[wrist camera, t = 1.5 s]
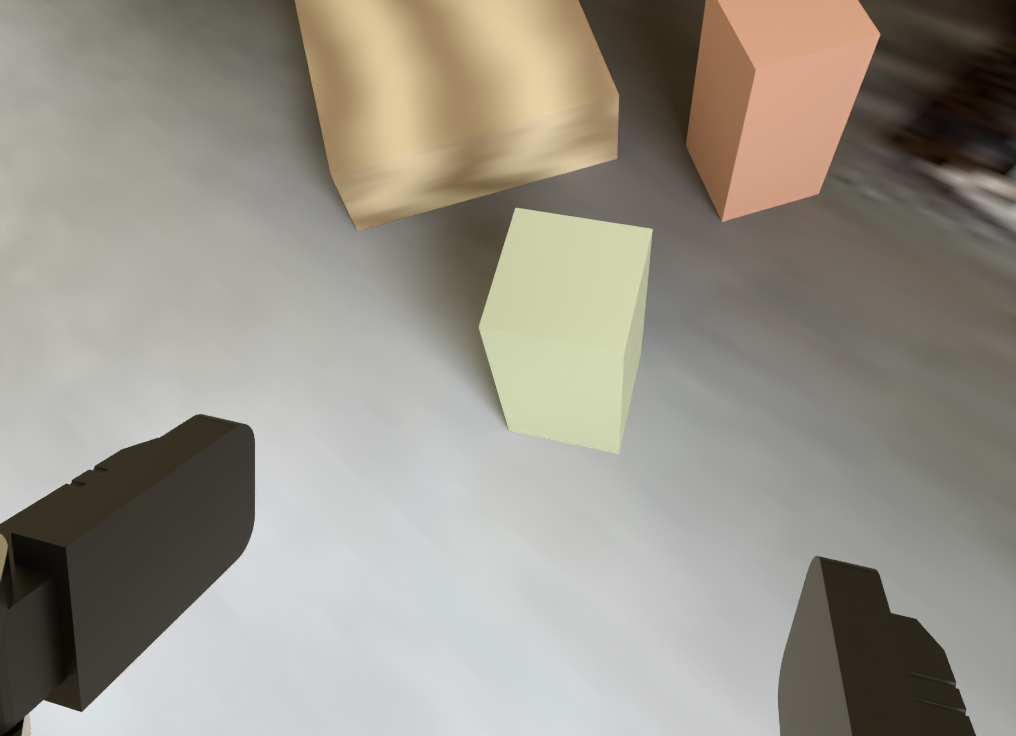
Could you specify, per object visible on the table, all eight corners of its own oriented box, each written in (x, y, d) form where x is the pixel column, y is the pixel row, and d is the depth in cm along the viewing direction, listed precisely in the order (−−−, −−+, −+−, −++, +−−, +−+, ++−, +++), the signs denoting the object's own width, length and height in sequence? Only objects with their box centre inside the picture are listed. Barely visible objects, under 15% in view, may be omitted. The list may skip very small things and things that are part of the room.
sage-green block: (640, 353, 38) (652, 229, 29) (618, 454, 36) (624, 354, 27) (535, 333, 39) (515, 207, 30) (509, 430, 37) (478, 327, 28)
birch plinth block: (544, -15, 49) (538, -92, 45) (617, 163, 43) (618, 94, 39) (318, 47, 49) (289, -24, 44) (359, 235, 43) (330, 174, 38)
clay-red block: (777, 119, 43) (824, -50, 34) (818, 193, 40) (880, 34, 31) (685, 146, 43) (708, -17, 34) (721, 221, 40) (755, 69, 31)
